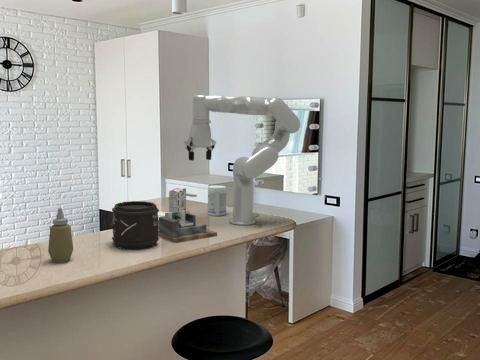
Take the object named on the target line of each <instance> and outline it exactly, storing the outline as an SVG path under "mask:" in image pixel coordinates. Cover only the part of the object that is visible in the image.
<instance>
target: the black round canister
mask: <svg viewBox="0 0 480 360" xmlns="http://www.w3.org/2000/svg"><path fill="white" fill-rule="evenodd" d="M111 211H112V222H111V223H110V229H112V237H111V240H112V241H113V244H114V245H115V247H116V248H118V249H122V250H126V251H127V250H134V251H137V250H139V251H140V250H144V249H145V250H146V249H150V248H153V247H154V246H156V245H157V242H159V240H160V238H159V236H158V231H159V212H160V210H159V208H158V207H157V205H156V203H155V202H151V201H142V200H141V201H140V200H139V201H137V200H130V201H123V202H117V203H115V204H114V207H112V208H111Z"/></svg>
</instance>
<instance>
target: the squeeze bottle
mask: <svg viewBox="0 0 480 360" xmlns="http://www.w3.org/2000/svg"><path fill="white" fill-rule="evenodd" d="M63 211H64V210H63V208H62V207H59V208H58V209H57V213H56V217H55V218H53V219H52V225H51V226H50V227H49V236H48V237H49V238H48V248H47V249H48V251H47V252H48V255H49V256H50V257H49V258H50V259H51V261H52V262H54V263H65V262H69V261H71V258H72V255H73V252H74V243H73V235H72V228H71V227H72V226H71V225H70V224H68V223H69V222H68V221H69V219H68V218H67V217H65V215H64V212H63Z"/></svg>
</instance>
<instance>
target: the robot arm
mask: <svg viewBox="0 0 480 360" xmlns="http://www.w3.org/2000/svg"><path fill="white" fill-rule="evenodd" d="M210 112H212V113H225V114H227V113H228V114H236V115H249V116H250V115H251V116H263V117H264V116H265V117H266V116H267V117H273V118H275V122H274V131H273V134H272V135H270V137H268V138H267V139H266V140H264V141H263V142H261V143H260V144H259V145H257V146H256V147H255V148H253V150H252V153H251V156H250V157H247V156H241V157H237V159H235V161H234V163H233V165H232V176H233V194H232V195H233V199H232V204H233V205H232V218H230V219H229V220H228V221H229V223H230V224H232V225H236V226H237V225H239V226H248V225H255V224H256V219H255V218H260V216H261V214H260V213H259V212H256V213H255V212H254V186H255V185H254V180H255V179H256V178H258V177H260V176H261V175H263V174H264V173H265V172H266V171H267V170H269V169H271V168H272V167H273V166H274V165H275V164H276V163H277V162H278V160H279V153H281V151H282V150H283V149H285V148H286V147H287V145H288V144H289V141H290V136H291V134H295V133H297V132H298V131H299V130H300V128H301V121H300V118H299V117H298V116H297V114H295V112H294V111H293V110H292V109H291V108H290V107H289V106H288V104H286V102H285V101H283V99H281V98H280V97H275V96H274V97H263V96H250V95H249V96H248V95H245V96H243V95H242V96H223V95H219V94H217V95H216V94H215V95H206V94H196V95H193V97H192V125H191V124H190V127H189V132H188V139H186V140H185V141H183V144H184V147H185V149H186V150H187V152H188V160H189V161H192V162H193V161H195V149H196V148H205V149H206V152H205V158H206V160H207V161H211V160H212V154H213V153H212V152H213V150H214V149H215V146H216V144H217V141H216V140H214V139H213V138H212V131H211V126H210V124H211V122H212V121H211V120H210Z"/></svg>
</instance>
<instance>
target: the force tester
mask: <svg viewBox="0 0 480 360" xmlns="http://www.w3.org/2000/svg"><path fill="white" fill-rule="evenodd" d="M185 213H190V210H189V209H188V210H187V209H186V211H178V212H169V211H168V212H165V213H164V216H158V220H159V229H158V238H159V237H160V238H161V237H162V238H161V239H164V240H166V239H167V241H168V242H172V243H174V244H175V243H176V244H177V243H182V242H188V241H189V242H190V241H194V240H200V239H206V238H211V237H212V238H213V237H217V236H218V232H217V231H215V230H211V229H209V228H207V226H208V225H207V224H198V225H196V226H192V227H185V228H179V218H176V220H175V216H179V217H181V221H182V220H185Z"/></svg>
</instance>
